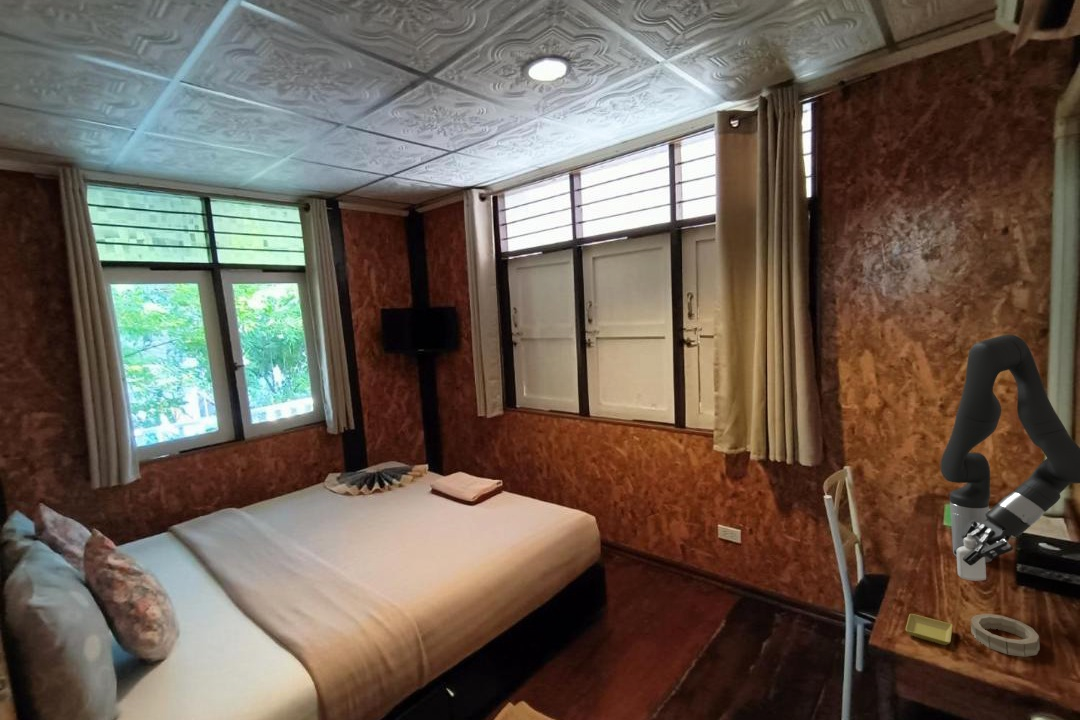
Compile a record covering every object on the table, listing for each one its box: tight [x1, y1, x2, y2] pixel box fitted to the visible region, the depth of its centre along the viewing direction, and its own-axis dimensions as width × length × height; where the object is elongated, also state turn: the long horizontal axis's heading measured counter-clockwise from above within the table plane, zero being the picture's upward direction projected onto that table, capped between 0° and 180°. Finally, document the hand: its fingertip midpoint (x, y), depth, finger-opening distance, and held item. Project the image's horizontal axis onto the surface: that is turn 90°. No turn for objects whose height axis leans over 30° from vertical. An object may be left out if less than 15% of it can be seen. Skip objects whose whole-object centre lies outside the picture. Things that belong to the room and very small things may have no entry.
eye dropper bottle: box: [956, 534, 987, 582], centre depth 128 cm, size 4×6×12 cm
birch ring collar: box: [970, 613, 1041, 658], centre depth 115 cm, size 11×11×3 cm
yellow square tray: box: [904, 613, 954, 646], centre depth 120 cm, size 9×9×2 cm
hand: (962, 558), depth 128 cm, fingers closed on eye dropper bottle, 3 cm apart
